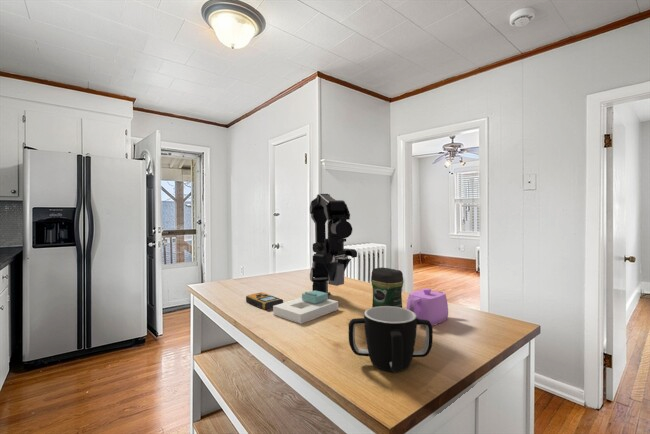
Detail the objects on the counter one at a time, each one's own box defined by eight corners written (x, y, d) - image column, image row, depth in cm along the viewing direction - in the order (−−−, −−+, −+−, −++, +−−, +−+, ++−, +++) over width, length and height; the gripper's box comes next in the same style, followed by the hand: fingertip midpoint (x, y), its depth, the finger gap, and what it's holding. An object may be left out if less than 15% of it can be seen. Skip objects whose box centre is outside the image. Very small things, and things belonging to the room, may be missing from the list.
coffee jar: (408, 329, 95) (408, 268, 95) (391, 336, 91) (391, 272, 90) (383, 320, 103) (383, 264, 103) (367, 326, 98) (366, 267, 98)
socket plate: (310, 302, 124) (310, 294, 124) (338, 309, 115) (338, 301, 115) (273, 314, 110) (273, 305, 110) (300, 323, 101) (300, 314, 101)
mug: (440, 367, 73) (440, 315, 72) (392, 390, 63) (392, 331, 63) (388, 343, 86) (388, 299, 86) (342, 359, 77) (342, 311, 76)
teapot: (429, 309, 114) (429, 281, 114) (456, 317, 106) (456, 287, 106) (398, 321, 103) (398, 290, 103) (426, 330, 95) (426, 297, 95)
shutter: (314, 296, 121) (314, 288, 121) (327, 299, 116) (327, 291, 116) (302, 300, 116) (301, 292, 116) (315, 303, 111) (315, 295, 111)
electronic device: (262, 299, 132) (262, 291, 132) (284, 306, 120) (284, 298, 120) (244, 303, 126) (244, 294, 126) (265, 311, 115) (265, 302, 115)
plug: (335, 282, 114) (335, 258, 114) (344, 283, 112) (343, 259, 111) (328, 284, 111) (328, 260, 111) (337, 285, 108) (336, 261, 108)
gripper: (334, 233, 123) (334, 272, 124) (300, 236, 109) (301, 281, 110) (357, 234, 116) (358, 276, 116) (325, 238, 102) (325, 286, 102)
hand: (335, 279), depth 111 cm, fingers closed on plug, 4 cm apart
